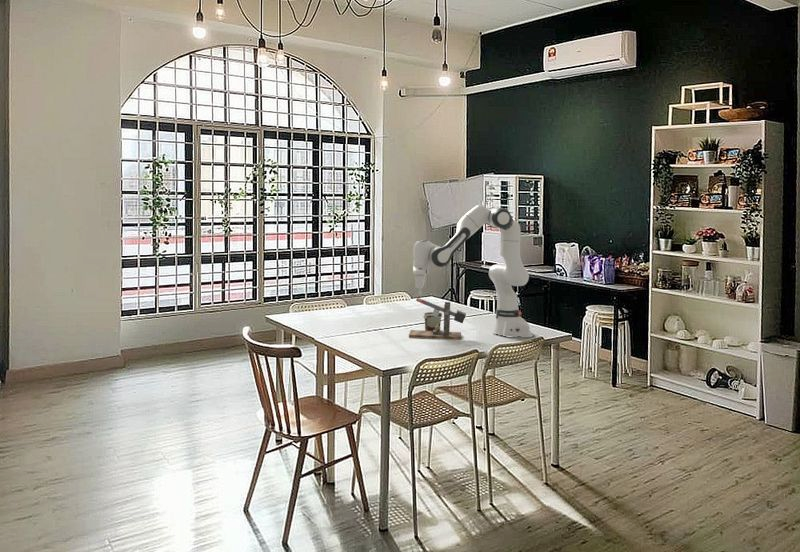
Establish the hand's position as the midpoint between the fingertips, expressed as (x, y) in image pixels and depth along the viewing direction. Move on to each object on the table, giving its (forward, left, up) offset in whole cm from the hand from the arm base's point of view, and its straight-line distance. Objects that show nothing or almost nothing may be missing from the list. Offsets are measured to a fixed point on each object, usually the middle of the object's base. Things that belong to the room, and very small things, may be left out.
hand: (420, 294), depth 379 cm
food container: (-5, -14, -23) cm, 27 cm away
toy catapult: (-9, 0, -23) cm, 24 cm away
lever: (-10, 0, -12) cm, 15 cm away
